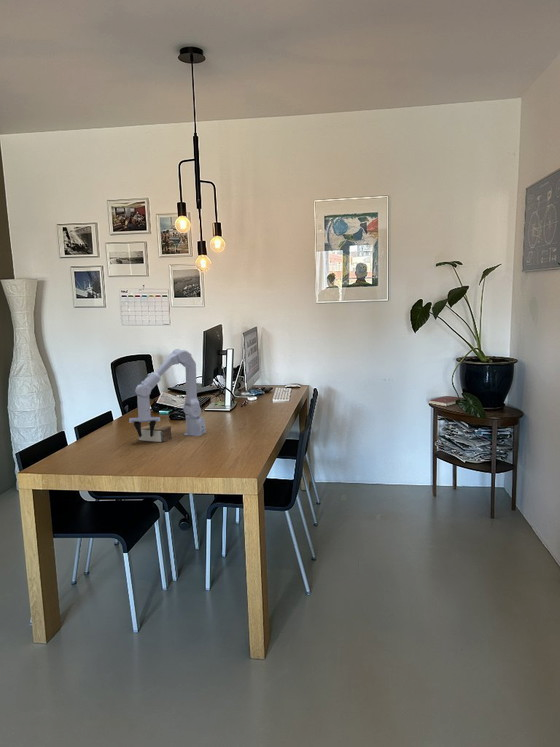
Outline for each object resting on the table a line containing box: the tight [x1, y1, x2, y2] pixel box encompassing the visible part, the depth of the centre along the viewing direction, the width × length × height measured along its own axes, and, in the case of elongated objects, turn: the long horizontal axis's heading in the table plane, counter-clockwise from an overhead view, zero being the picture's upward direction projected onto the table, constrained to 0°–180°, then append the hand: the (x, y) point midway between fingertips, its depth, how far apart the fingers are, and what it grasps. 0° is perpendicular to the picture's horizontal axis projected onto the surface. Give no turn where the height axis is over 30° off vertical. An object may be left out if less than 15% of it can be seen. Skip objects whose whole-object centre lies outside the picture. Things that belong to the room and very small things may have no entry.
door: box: [138, 430, 163, 443], centre depth 256 cm, size 14×2×5 cm, turn 68°
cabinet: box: [141, 424, 172, 443], centre depth 260 cm, size 15×7×6 cm, turn 69°
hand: (145, 436), depth 254 cm, fingers open, 5 cm apart
